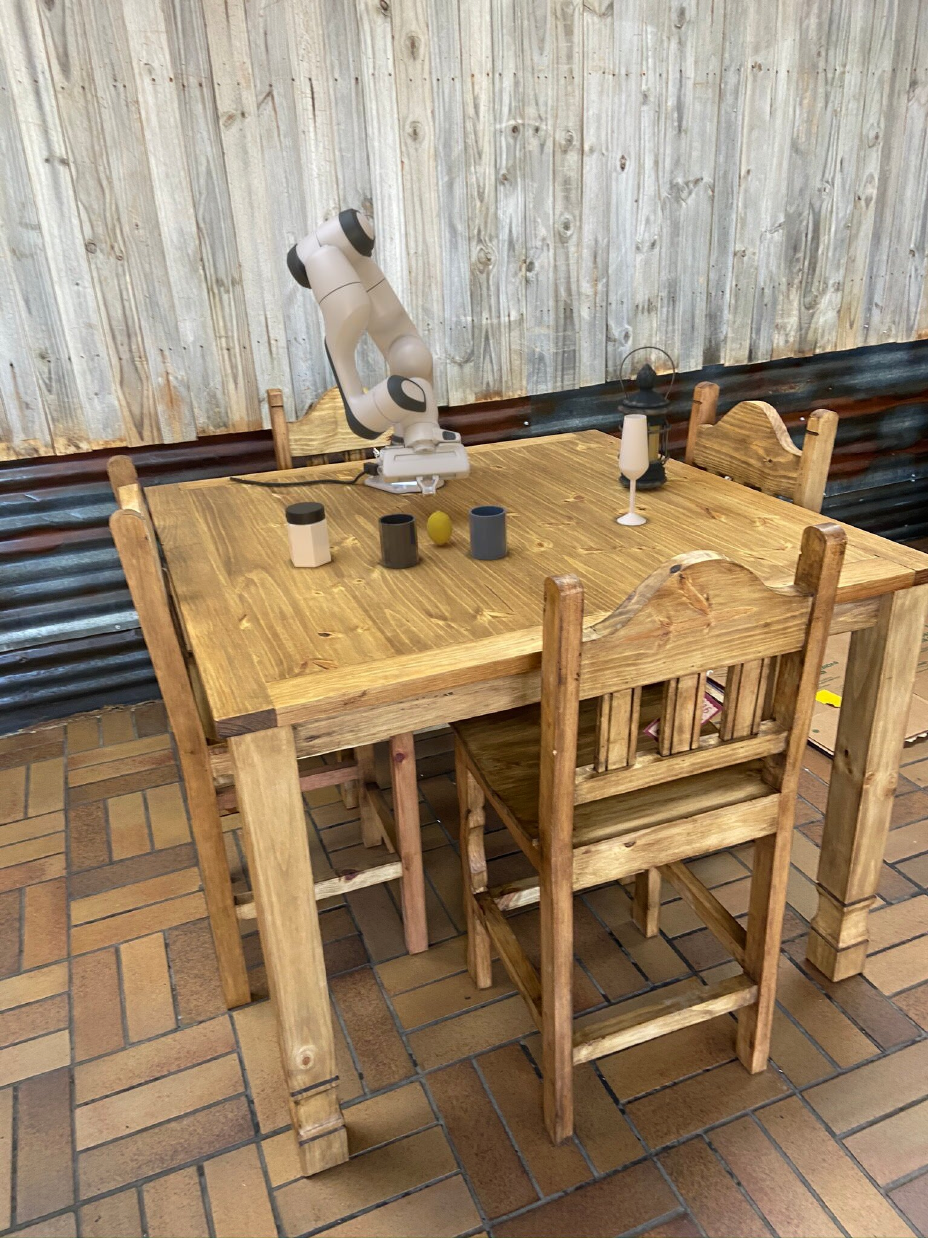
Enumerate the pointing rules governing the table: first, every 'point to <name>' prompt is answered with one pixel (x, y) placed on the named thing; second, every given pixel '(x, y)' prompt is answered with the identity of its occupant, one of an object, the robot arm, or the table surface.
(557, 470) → the table surface
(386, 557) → the charcoal cup
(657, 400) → the lantern
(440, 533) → the lemon
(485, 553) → the slate cup
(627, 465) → the champagne flute
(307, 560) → the jar
